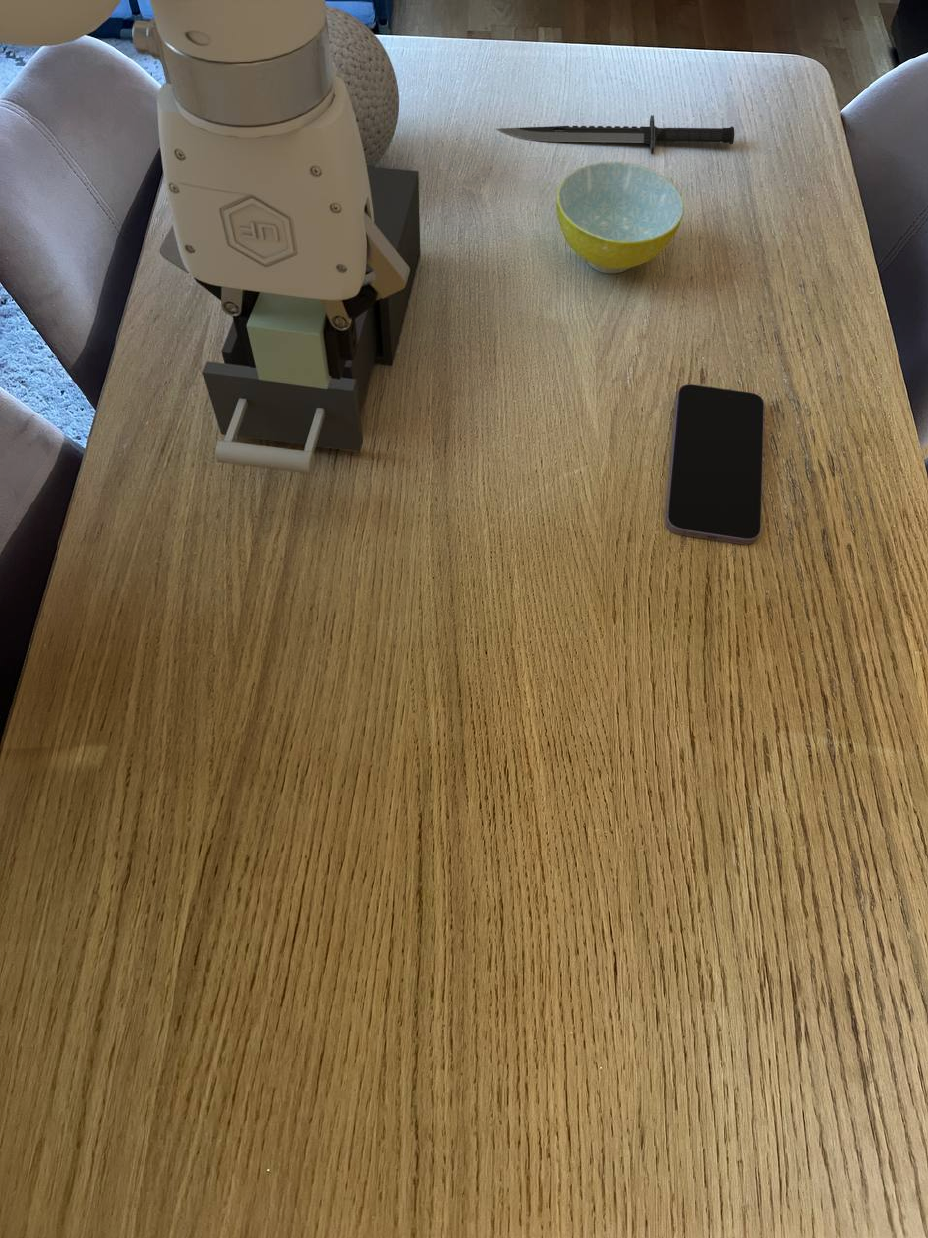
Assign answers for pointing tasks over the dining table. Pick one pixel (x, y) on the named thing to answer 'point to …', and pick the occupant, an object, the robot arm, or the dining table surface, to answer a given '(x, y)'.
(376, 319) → the drawer
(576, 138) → the knife
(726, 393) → the smartphone
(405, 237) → the cabinet
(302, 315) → the block
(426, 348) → the dining table surface
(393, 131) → the decorative ball
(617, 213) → the bowl
